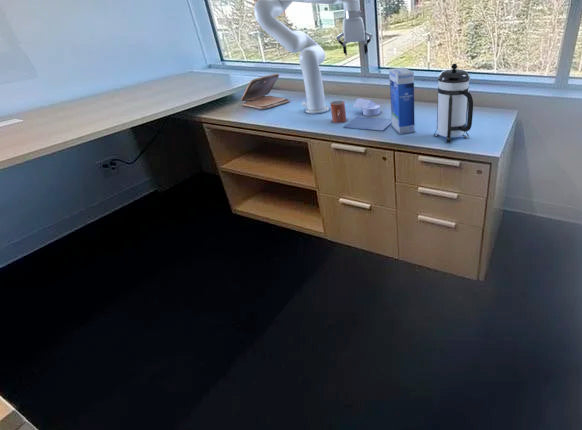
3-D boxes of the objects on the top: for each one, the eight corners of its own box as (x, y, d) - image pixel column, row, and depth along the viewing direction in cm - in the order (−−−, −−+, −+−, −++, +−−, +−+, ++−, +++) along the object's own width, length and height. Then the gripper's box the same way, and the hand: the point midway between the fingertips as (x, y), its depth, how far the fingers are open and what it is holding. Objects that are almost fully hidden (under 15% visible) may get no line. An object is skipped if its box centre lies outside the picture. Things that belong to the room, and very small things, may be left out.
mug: (332, 119, 192) (329, 101, 187) (346, 118, 192) (344, 100, 188) (332, 125, 183) (330, 106, 179) (347, 124, 184) (345, 105, 179)
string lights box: (415, 132, 171) (414, 72, 157) (399, 134, 169) (397, 74, 155) (406, 123, 181) (404, 66, 168) (390, 125, 180) (388, 68, 166)
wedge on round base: (353, 113, 199) (373, 116, 193) (352, 100, 195) (372, 103, 189) (363, 108, 205) (383, 111, 199) (362, 96, 202) (382, 98, 196)
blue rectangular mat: (343, 127, 180) (343, 127, 180) (357, 117, 193) (357, 116, 192) (382, 131, 174) (382, 130, 174) (394, 120, 186) (394, 119, 186)
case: (269, 97, 233) (263, 70, 225) (291, 101, 223) (286, 73, 214) (240, 105, 220) (233, 77, 211) (263, 110, 209) (256, 80, 200)
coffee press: (429, 141, 160) (430, 67, 144) (438, 129, 172) (440, 59, 157) (469, 146, 154) (475, 68, 138) (477, 133, 167) (483, 60, 151)
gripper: (369, 13, 182) (372, 52, 191) (333, 15, 179) (337, 54, 188) (371, 14, 175) (374, 54, 184) (334, 16, 173) (338, 56, 182)
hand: (355, 54), depth 186 cm, fingers open, 9 cm apart
